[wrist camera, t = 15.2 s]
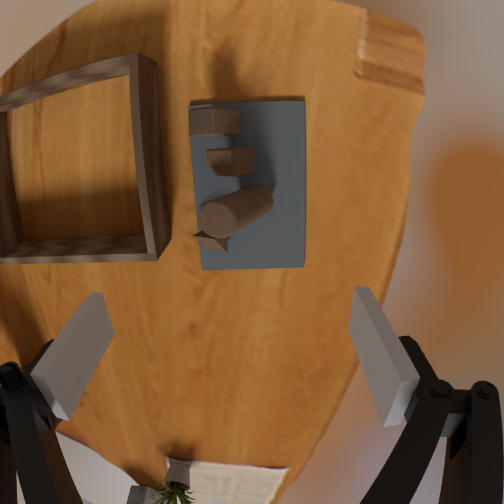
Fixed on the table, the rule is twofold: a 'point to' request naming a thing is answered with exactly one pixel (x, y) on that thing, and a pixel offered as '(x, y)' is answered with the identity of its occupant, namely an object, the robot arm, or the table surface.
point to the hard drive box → (143, 495)
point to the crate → (147, 167)
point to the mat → (267, 175)
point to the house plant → (176, 485)
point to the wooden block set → (232, 165)
